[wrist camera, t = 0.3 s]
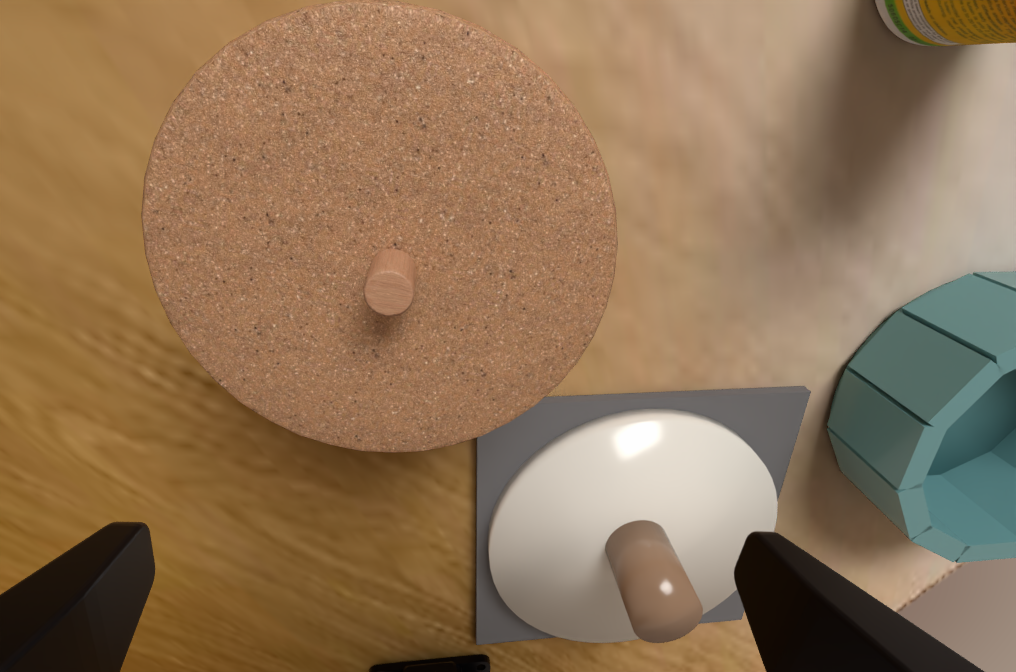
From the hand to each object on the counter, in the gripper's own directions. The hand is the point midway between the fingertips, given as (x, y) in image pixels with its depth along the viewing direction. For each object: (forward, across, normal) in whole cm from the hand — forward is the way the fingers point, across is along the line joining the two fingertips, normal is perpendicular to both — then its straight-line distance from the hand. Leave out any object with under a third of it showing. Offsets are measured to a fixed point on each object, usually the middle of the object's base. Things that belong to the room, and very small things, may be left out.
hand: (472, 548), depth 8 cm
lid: (+14, -10, +12) cm, 21 cm away
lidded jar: (+14, +2, -2) cm, 15 cm away
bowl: (+14, -24, +4) cm, 28 cm away
